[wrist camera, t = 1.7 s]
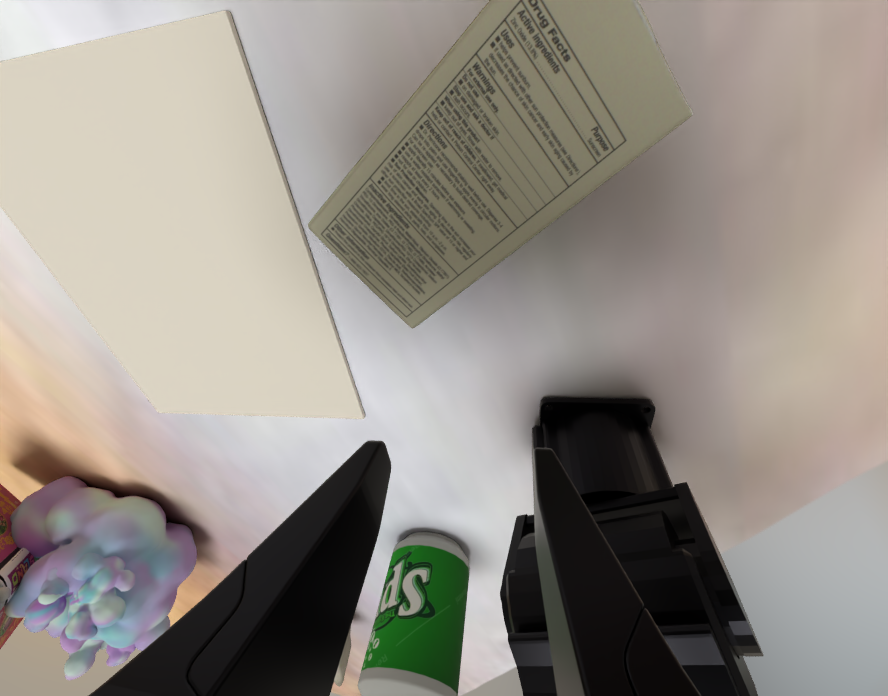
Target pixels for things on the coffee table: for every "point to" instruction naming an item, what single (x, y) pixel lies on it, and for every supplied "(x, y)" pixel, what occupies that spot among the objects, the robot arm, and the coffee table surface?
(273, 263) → the cream mat
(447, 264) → the skincare box
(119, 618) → the lilac mottled toy
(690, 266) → the coffee table surface
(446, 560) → the soda can
